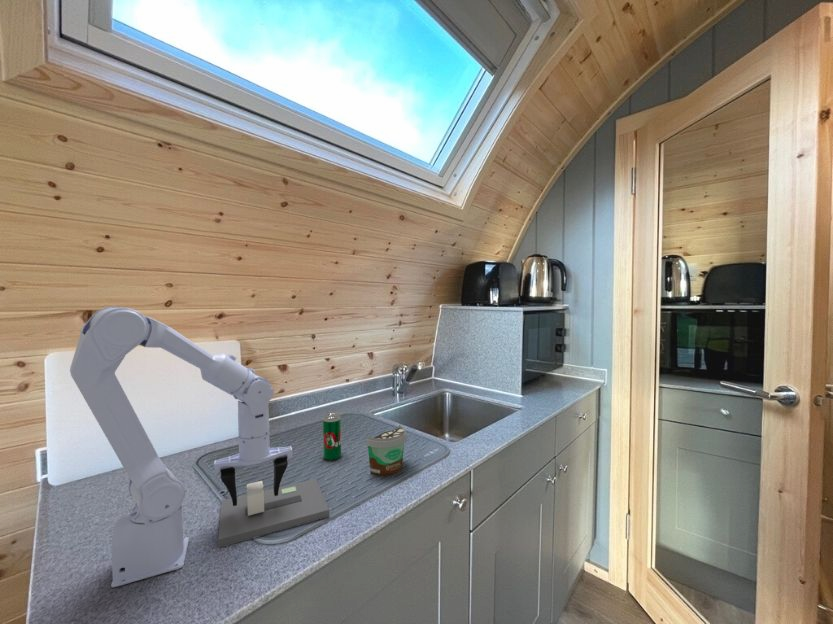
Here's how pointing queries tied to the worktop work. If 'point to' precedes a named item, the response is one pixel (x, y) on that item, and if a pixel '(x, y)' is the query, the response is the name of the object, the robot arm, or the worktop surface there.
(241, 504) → the switch panel
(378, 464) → the food container
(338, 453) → the soda can
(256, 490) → the breaker knob
